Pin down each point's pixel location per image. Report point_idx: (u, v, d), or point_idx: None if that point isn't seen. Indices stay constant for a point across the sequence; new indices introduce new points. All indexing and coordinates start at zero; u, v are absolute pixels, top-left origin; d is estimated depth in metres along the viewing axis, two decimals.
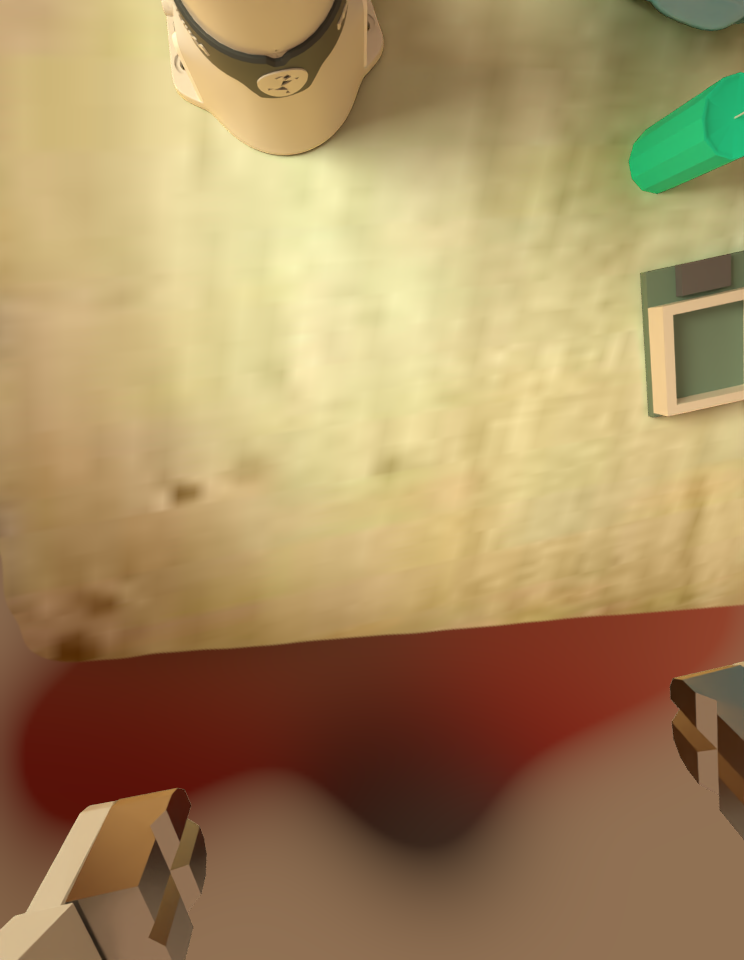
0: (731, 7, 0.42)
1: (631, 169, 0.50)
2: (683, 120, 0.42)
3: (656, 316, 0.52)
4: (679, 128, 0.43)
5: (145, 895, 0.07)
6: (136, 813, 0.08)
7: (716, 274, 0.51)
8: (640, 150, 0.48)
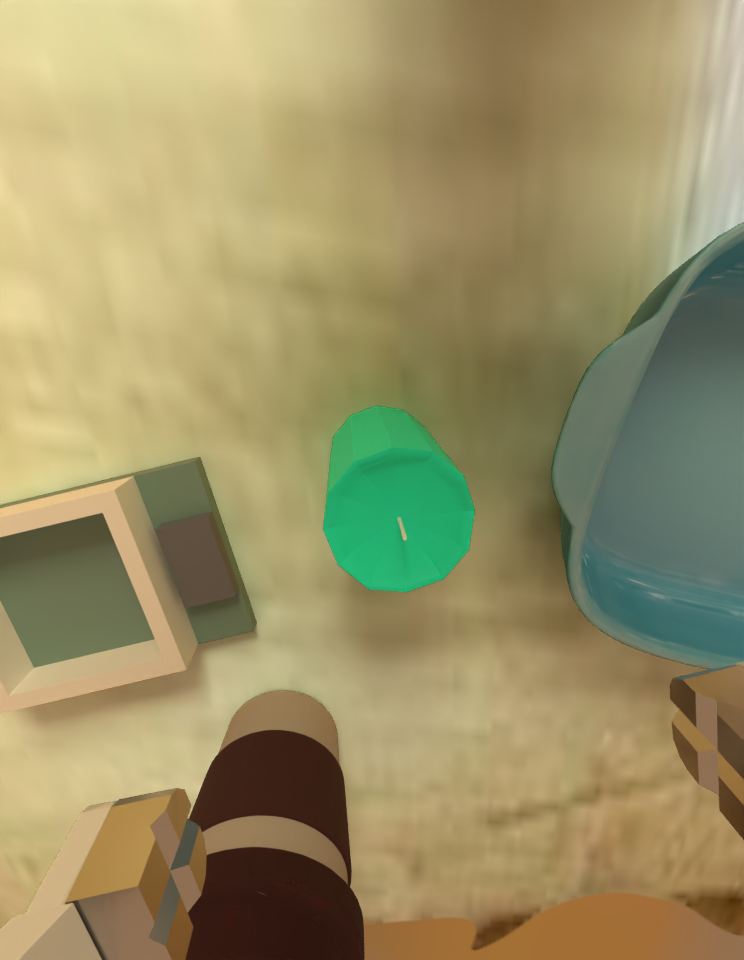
0: (582, 494, 0.24)
1: (364, 411, 0.29)
2: (404, 435, 0.22)
3: (106, 487, 0.27)
4: (393, 433, 0.22)
5: (145, 895, 0.07)
6: (136, 813, 0.08)
7: (199, 581, 0.29)
8: (385, 411, 0.27)
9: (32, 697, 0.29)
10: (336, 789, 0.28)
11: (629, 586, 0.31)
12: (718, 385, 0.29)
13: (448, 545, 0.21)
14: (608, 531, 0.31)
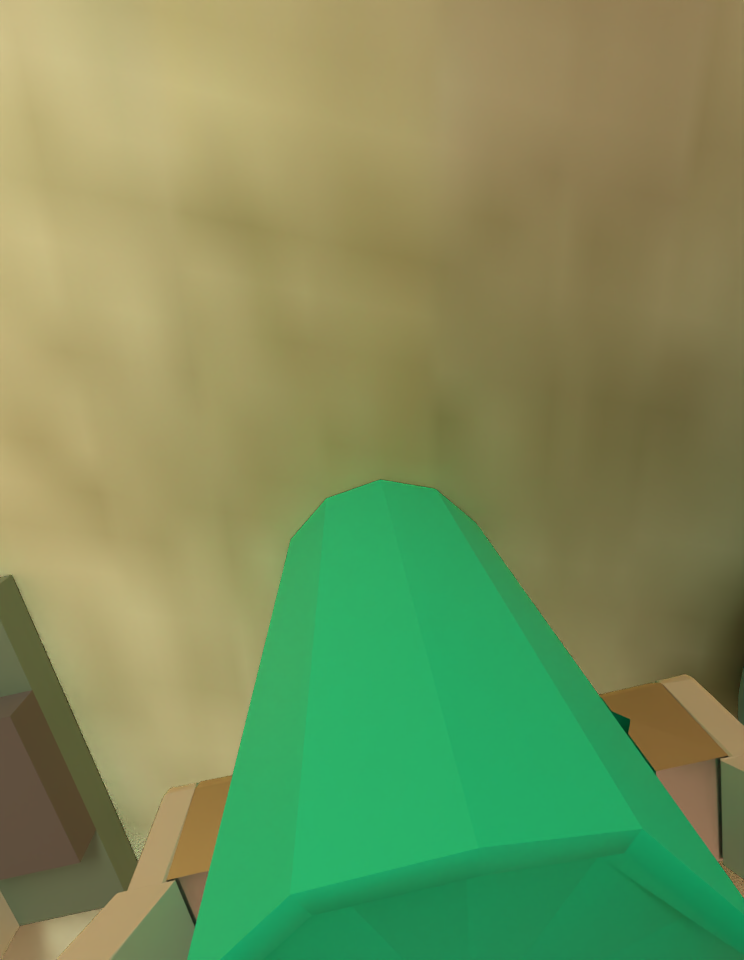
0: None
1: (356, 491, 0.14)
2: (480, 655, 0.07)
3: None
4: (441, 639, 0.07)
5: None
6: (223, 794, 0.08)
7: (0, 836, 0.14)
8: (402, 502, 0.12)
9: None
10: None
11: None
12: None
13: None
14: None
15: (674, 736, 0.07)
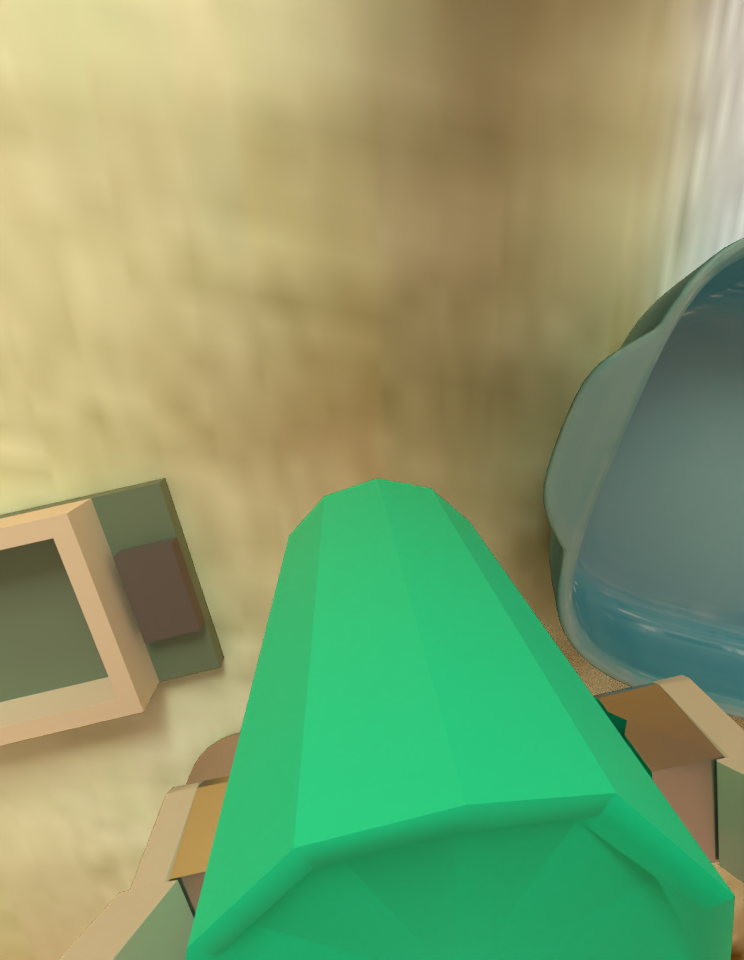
0: (575, 515, 0.23)
1: (353, 489, 0.14)
2: (471, 641, 0.07)
3: (59, 510, 0.25)
4: (434, 625, 0.07)
5: None
6: None
7: (160, 613, 0.27)
8: (399, 499, 0.13)
9: None
10: None
11: (619, 617, 0.29)
12: (714, 408, 0.28)
13: None
14: (598, 558, 0.30)
15: (670, 737, 0.07)
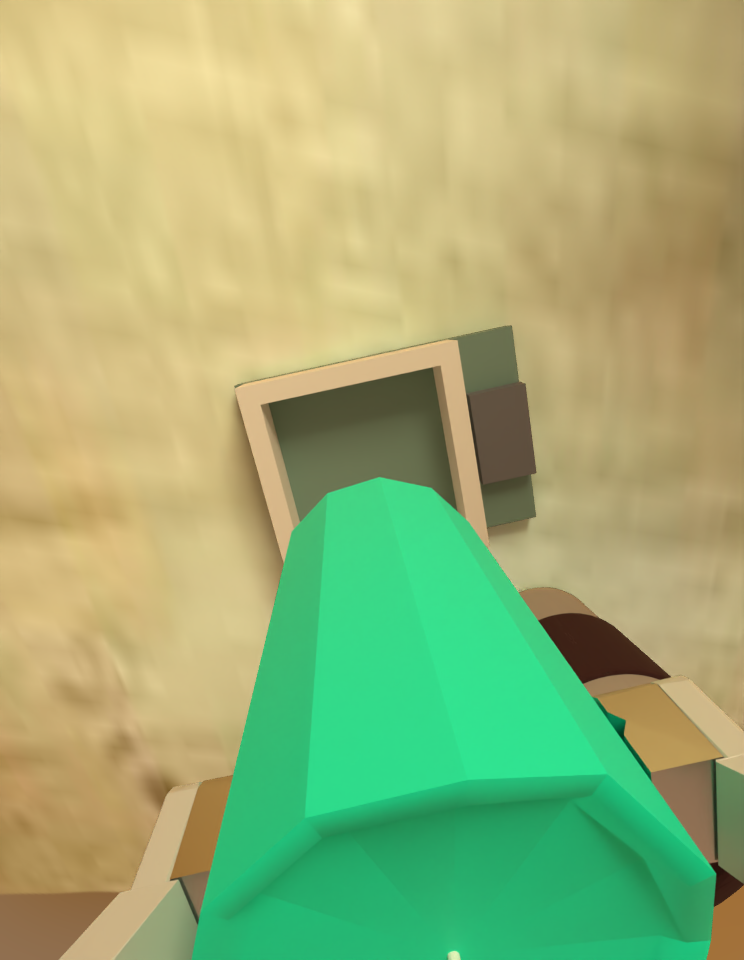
0: None
1: (356, 487, 0.15)
2: (472, 633, 0.07)
3: (435, 343, 0.26)
4: (437, 617, 0.07)
5: None
6: (225, 793, 0.08)
7: (503, 454, 0.28)
8: (400, 498, 0.13)
9: None
10: None
11: None
12: None
13: None
14: None
15: (669, 737, 0.07)
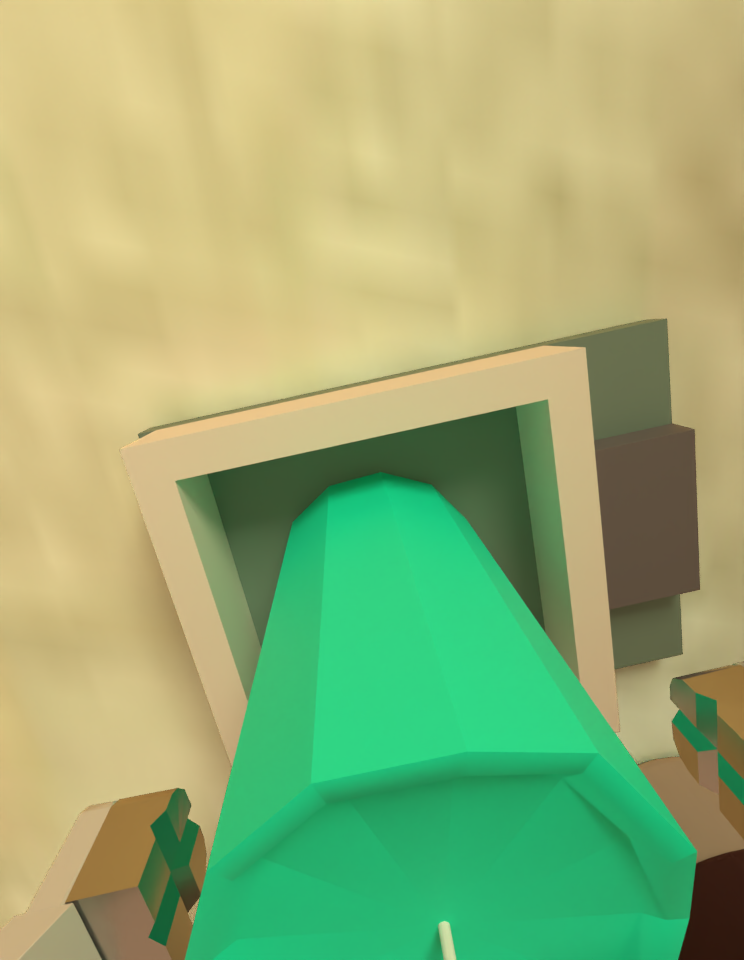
0: None
1: (357, 481, 0.15)
2: (471, 621, 0.08)
3: (531, 354, 0.13)
4: (438, 605, 0.08)
5: (145, 895, 0.07)
6: (136, 813, 0.08)
7: (643, 557, 0.15)
8: (402, 493, 0.13)
9: None
10: None
11: None
12: None
13: None
14: None
15: None
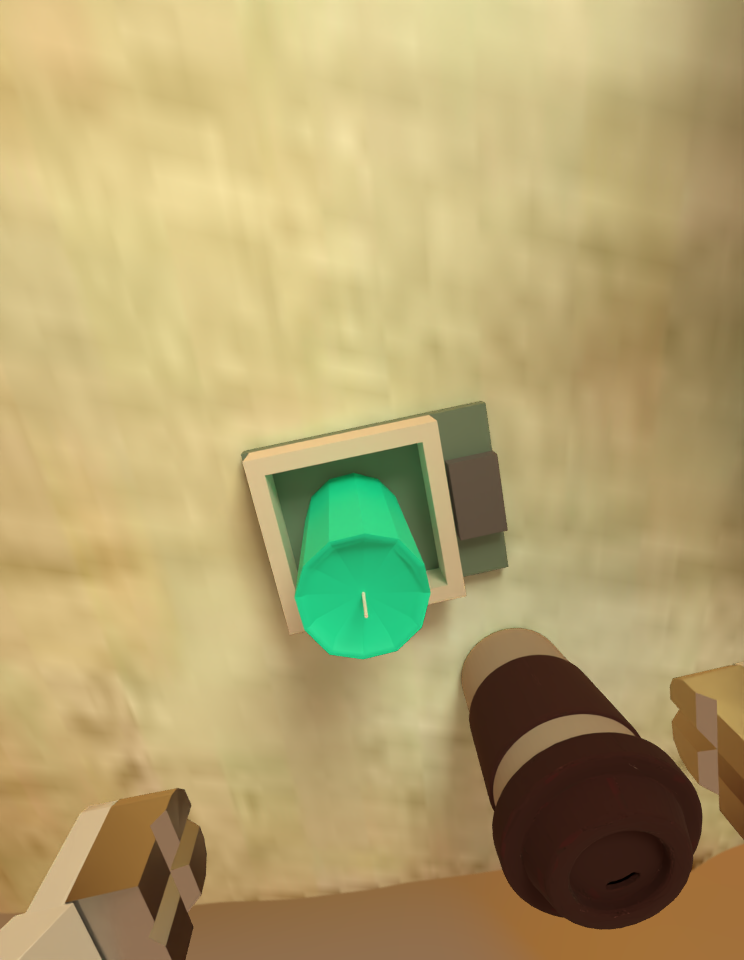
0: None
1: (342, 477, 0.32)
2: (376, 516, 0.24)
3: (418, 421, 0.30)
4: (366, 513, 0.24)
5: (145, 895, 0.07)
6: (136, 813, 0.08)
7: (478, 514, 0.32)
8: (362, 481, 0.30)
9: None
10: None
11: None
12: None
13: (404, 620, 0.23)
14: None
15: None
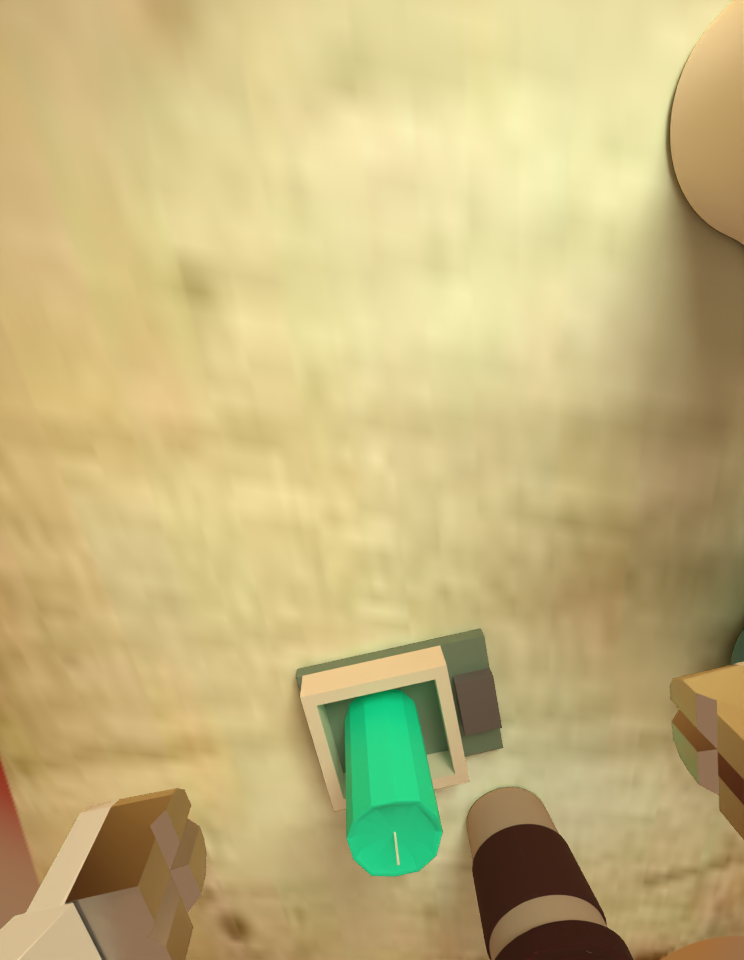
0: None
1: None
2: (402, 767, 0.34)
3: (432, 658, 0.39)
4: (395, 763, 0.34)
5: (145, 895, 0.07)
6: (136, 813, 0.08)
7: (478, 717, 0.41)
8: (389, 702, 0.39)
9: None
10: (580, 870, 0.40)
11: None
12: None
13: (424, 848, 0.33)
14: None
15: None
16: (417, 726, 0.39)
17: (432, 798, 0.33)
